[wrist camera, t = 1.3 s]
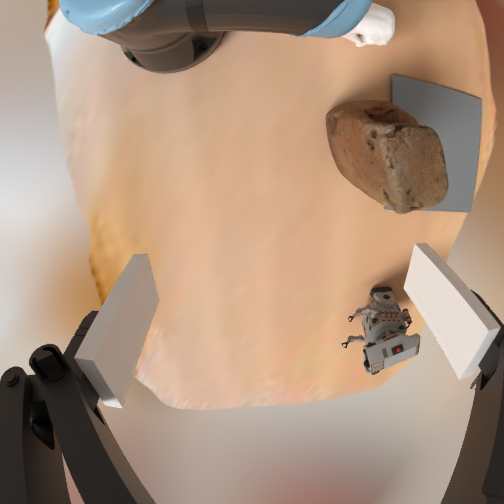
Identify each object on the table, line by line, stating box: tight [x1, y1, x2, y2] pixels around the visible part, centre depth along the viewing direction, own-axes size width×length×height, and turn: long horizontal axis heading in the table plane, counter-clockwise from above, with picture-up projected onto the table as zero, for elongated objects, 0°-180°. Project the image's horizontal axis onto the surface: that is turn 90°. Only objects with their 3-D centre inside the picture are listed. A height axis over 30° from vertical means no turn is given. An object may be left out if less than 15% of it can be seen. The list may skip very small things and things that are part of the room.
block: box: [326, 100, 449, 214], centre depth 30 cm, size 11×8×20 cm
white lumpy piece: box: [341, 3, 395, 47], centre depth 28 cm, size 6×9×12 cm
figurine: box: [342, 287, 420, 375], centre depth 47 cm, size 9×12×15 cm
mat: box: [384, 74, 482, 212], centre depth 39 cm, size 22×20×1 cm
